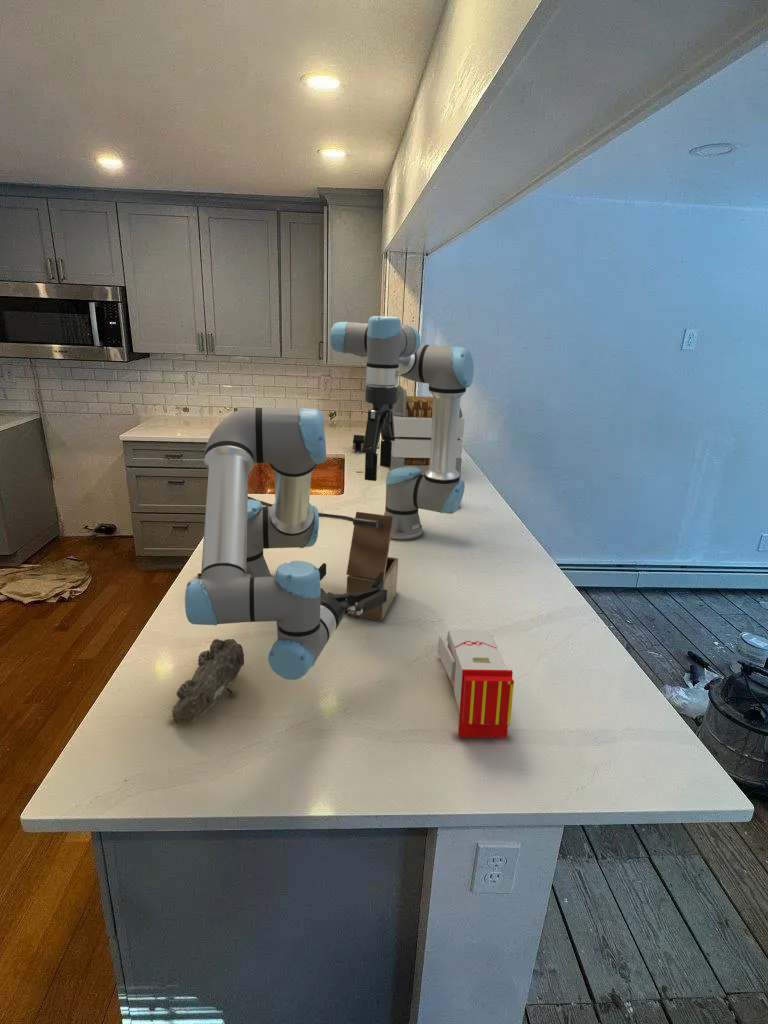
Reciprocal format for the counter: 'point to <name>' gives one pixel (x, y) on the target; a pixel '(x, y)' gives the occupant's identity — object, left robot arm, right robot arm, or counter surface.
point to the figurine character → (358, 442)
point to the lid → (369, 545)
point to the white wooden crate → (416, 431)
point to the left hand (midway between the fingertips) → (352, 573)
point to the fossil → (209, 680)
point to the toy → (478, 682)
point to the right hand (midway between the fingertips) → (378, 472)
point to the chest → (362, 584)
